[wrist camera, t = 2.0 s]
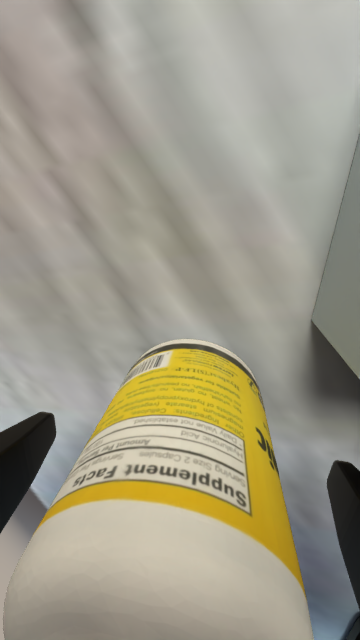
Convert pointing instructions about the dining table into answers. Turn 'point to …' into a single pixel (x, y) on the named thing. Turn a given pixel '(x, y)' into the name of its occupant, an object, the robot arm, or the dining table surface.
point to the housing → (343, 277)
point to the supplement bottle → (167, 517)
